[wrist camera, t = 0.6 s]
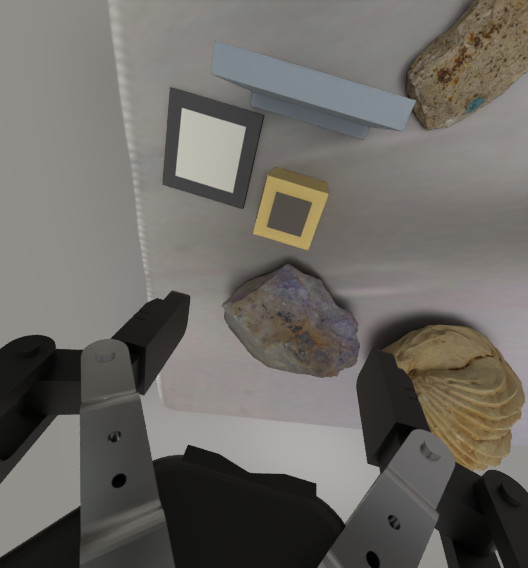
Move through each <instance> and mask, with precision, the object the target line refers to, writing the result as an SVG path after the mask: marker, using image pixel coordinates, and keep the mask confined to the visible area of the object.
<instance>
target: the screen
mask: <svg viewBox="0 0 528 568" xmlns="http://www.w3.org/2000/svg"><path fill="white" fill-rule="evenodd" d="M211 74H213V75H215V76H217V77H220V78H222V79H224V80H227V81H229V82H231V83H234V84H236V85H238V86H241V87H243V88H245V89H248V90H250V91H252V92H253V93H252V98H251V103H250V106H253V107H257V108H260V109H263V110H267V111H270V112H273V113H277V114H280V115H283V116H287V117H290V118H293V119H297V120H300V121H303V122H306V123H310V124H313V125H316V126H320V127H323V128H326V129H330V130H333V131H336V132H340V133H343V134H346V135H350V136H353V137H356V138H360V139H363V140H365V137H366V135H367V132H368V129H369V127H375V128H382V129H390V130H397V131H403V129H404V127H405V125H406V122H407V120H408V118H409V116H410V113H411V111H412V109H413V107H414V104H415V102H416V100H412V99H409V98H406V97H402V96H399V95H396V94H392V93H389V92H386V91H382V90H379V89H376V88H372V87H369V86H366V85H362V84H359V83H356V82H352V81H349V80H346V79H342V78H339V77H335V76H332V75H329V74H325V73H322V72H319V71H315V70H312V69H309V68H305V67H302V66H299V65H295V64H292V63H289V62H285V61H282V60H279V59H275V58H272V57H269V56H265V55H262V54H259V53H255V52H252V51H248V50H245V49H242V48H238V47H235V46H232V45H228V44H225V43H222V42H218V41H215V45H214V52H213V60H212V67H211Z"/></svg>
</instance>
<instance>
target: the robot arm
mask: <svg viewBox="0 0 528 568" xmlns="http://www.w3.org/2000/svg"><path fill="white" fill-rule="evenodd" d="M189 306H190V295H187V294H183V293H180V292H176V291H171V292H170V293H169V294H168V295H167V297H166V298H165V299H164V300H162V299H158V298H157V299H154V300H152V301H150V302H148V303H146V304H145V305H144V306H143V307H142V308H141V309H140V310H139V312H137V313H136V314H135V315H134V316H133V318H131V319H130V320H129V321H128V322H127V323H126V324H125V325H124V326H123V327H122V328H121V329H120V330H119V331H118V332H117V333H116V334H115V335H114V336H113V337H112V338H111V339H104V340H99V341H96V342H94V343H92V344H90V345H88V346H87V347H86V348H85V349H84V350H70V349H56V345H55V342H54V341H53V340H52V339H51V338H49V337H47V336H43V335H30V336H24V337H21V338H18V339H15V340H13V341H11V342H9V343H8V344H6V345H5V346H4V347H2V348H1V349H0V484H1V482H2V481H3V480H4V479H5V478H6V476H7V475H8V474H9V473H10V471H11V470H12V469H13V468H14V467H15V466H16V464H17V463H18V462H19V461H20V460H21V458H22V457H23V456H24V455H25V453H26V452H27V451H28V450H29V449H30V448H31V446H32V445H33V444H34V443H35V442H36V440H37V439H38V438H39V437H40V436H41V434H42V433H43V432H44V431H45V430H46V428H47V427H48V426H49V425H50V424H51V422H52V421H53V420H54V419H55V418H56V416H57V415H67V414H68V415H70V414H80V486H81V487H80V493H81V494H80V498H81V499H80V501H81V506H79V507H78V508H76V509H75V510H73V511H71V512H70V513H68V514H67V515H65V516H64V517H62V518H61V519H59V520H58V521H56V522H54V523H53V524H51V525H50V526H48V527H47V528H45V529H44V530H42V531H41V532H39V533H37V534H36V535H34V536H33V537H31V538H30V539H28V540H27V541H25V542H23V543H22V544H20V545H19V546H17V547H16V548H14V549H12V550H11V551H9V552H8V553H6V554H5V555H3V556H2V557H0V568H417V567H418V565H419V563H420V560H421V558H422V556H423V553H424V551H425V549H426V546H427V544H428V541H429V539H430V537H431V535H432V532H433V530H434V528H435V529H437V530H438V531H439V533H440V536H441V540H442V544H443V548H444V552H445V556H446V560H447V564H448V568H501V567H500V564H499V562H498V559H497V556H496V554H495V551H496V550H497V551H498V553H499V556H500V558H501V561H502V563H503V566H504V568H528V492H527V491H526V490H525V489H524V488H523V487H522V486H521V485H520V484H519V483H518V482H516V481H515V480H514V479H512V478H511V477H510V476H508V475H506V474H504V473H502V472H500V471H496V470H488V471H487V472H485V474H483V475H482V476H480V475H478V474H476V473H474V472H473V471H471V470H469V469H467V468H466V467H464V466H462V465H460V464H459V463H457V462H456V461H455V460H454V457H453V454H452V452H451V451H450V449H449V448H448V447H447V445H446V444H445V443H444V442H443V441H442V440H441V439H440V438H438V437H437V436H436V435H434V434H432V433H431V430H430V428H429V425H428V422H427V420H426V417H425V414H424V412H423V409H422V406H421V404H420V402H419V399H418V396H417V393H415V388H414V385H413V383H412V380H411V379H410V377H409V376H408V375H407V374H406V372H405V371H404V370H403V369H401V368H398V366H397V363H396V360H395V357H394V355H393V354H392V353H389V352H385V351H382V350H378V349H373V350H372V351H371V352H370V354H369V356H368V358H367V360H366V362H365V364H364V366H363V368H362V369H361V371H360V373H359V376H358V379H357V384H356V389H357V396H358V403H359V409H360V416H361V423H362V430H363V436H364V443H365V450H366V456H367V463H368V464H371V465H374V466H378V467H380V475H379V476H378V478H377V479H376V480H375V482H374V483H373V485H372V486H371V487H370V489H369V490H368V492H367V493H366V495H365V496H364V497H363V499H362V500H361V502H360V503H359V504H358V506H357V507H356V509H355V510H354V511H353V513H352V514H351V516H350V517H349V518H348V520H347V521H346V523H345V524H344V522H343V521H342V519H341V518H340V517H339V516H338V515H337V513H336V512H335V511H334V510H333V509H332V508H331V507H330V506H329V505H328V504H327V503H325V502H324V501H323V500H322V499H320V498H319V497H317V496H316V483H312V482H309V481H306V480H302V479H299V478H296V477H293V476H289V475H286V474H260V473H249V472H247V471H245V470H244V469H242V468H241V467H239V466H237V465H236V464H234V463H233V462H231V461H229V460H228V459H226V458H225V457H223V456H221V455H220V454H217V453H214V452H211V451H207V450H204V449H201V448H197V447H194V446H191V445H188V446H187V449H186V451H185V453H184V455H173V456H167V457H162V458H159V459H156V460H154V461H152V457H151V452H150V447H149V441H148V437H147V431H146V425H145V421H144V415H143V410H142V405H141V399H140V395H139V394H141V395H145V393H146V392H147V390H148V389H149V387H150V386H151V384H152V383H153V381H154V380H155V378H156V377H157V375H158V374H159V372H160V371H161V369H162V368H163V366H164V365H165V363H166V362H167V360H168V359H169V357H170V356H171V354H172V353H173V351H174V350H175V348H176V347H177V345H178V344H179V342H180V341H181V339H182V337H183V336H184V333H185V331H186V327H187V322H188V314H189Z"/></svg>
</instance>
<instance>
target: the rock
mask: <svg viewBox="0 0 528 568" xmlns="http://www.w3.org/2000/svg"><path fill="white" fill-rule="evenodd" d="M527 71H528V0H473V2H472V3H471V4H470V6H469V8H468V9H467V10H466V11H465V12H464V13H463V14H462V15H461V17H460V18H459V19H458V20H457V21H456V23H455V24H454V25H453V26H452V27H451V28H450V29H449V30H448V31H446V32H445V33H444V34H441V35H440V36H438V37H437V38H436V39H435V40H434V41H433V42H432V43H431V44H430V45H429V46H428V47H427V48H426V49H424V50H423V51H422V52H421V53H420V55H419V56H418V57H417V58H416V60H415V61H414V63H413V64H412V66H411V67H410V69H409V71H408V73H407V78H408V82H407V90H406V92H407V93H408V95H409V97H410V99H412V100H416V102H415V104H414V107H413V111H414V112H415V113H416V117H417V118H418V119H419V120H420V121H421V123H422V125H423V126H424V127H425V128H426V130H430V129H437V128H442V127H445V128H447V127H449V126H450V125H452V124H454V123H456V122H458V121H461V120H462V119H464V118H466V117H467V116H469V115H470V114H472V113H473V112H475V111H477V110H478V109H480V108H481V107H483V106H485V105H487V104H488V103H490V102H491V101H493V100H494V99H496V98H497V97H498V96H500V95H502V94H503V93H504V92H505V91H506V89H508V88H509V87H510V86H511V85H512V84H513V83H514V82H515V81H516V80H517V79H518V78H519V77H520V76H521V75H523V74H525V73H526V72H527Z"/></svg>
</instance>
